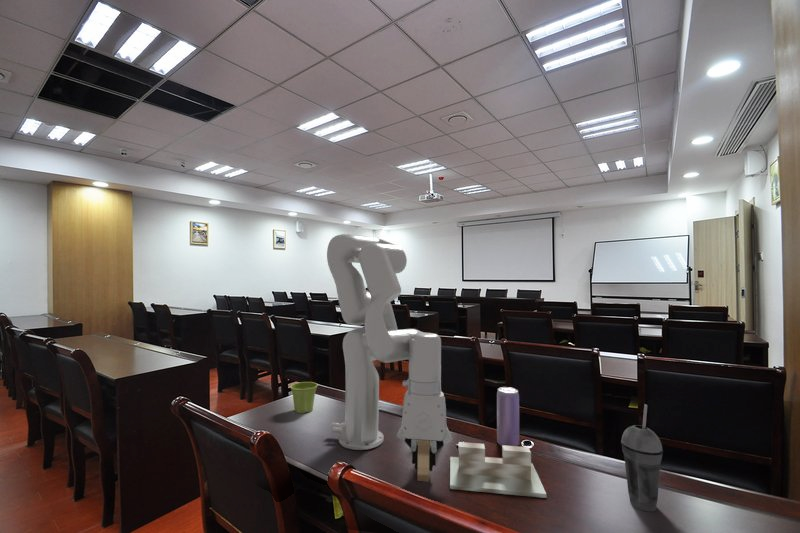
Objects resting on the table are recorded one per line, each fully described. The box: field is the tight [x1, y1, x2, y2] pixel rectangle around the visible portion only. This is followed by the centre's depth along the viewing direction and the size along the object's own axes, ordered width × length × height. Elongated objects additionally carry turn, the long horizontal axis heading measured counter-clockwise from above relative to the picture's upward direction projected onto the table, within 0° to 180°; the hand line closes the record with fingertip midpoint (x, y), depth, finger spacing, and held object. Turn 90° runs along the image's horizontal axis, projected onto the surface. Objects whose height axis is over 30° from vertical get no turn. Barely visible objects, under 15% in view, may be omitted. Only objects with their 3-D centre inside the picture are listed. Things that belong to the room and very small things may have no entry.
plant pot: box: [289, 381, 319, 414], centre depth 124 cm, size 9×9×9 cm
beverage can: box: [496, 386, 520, 447], centre depth 100 cm, size 6×6×15 cm
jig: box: [449, 441, 548, 499], centre depth 82 cm, size 20×13×7 cm, turn 82°
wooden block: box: [416, 440, 431, 483], centre depth 86 cm, size 12×3×9 cm, turn 172°
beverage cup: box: [620, 403, 664, 512], centre depth 73 cm, size 7×7×20 cm
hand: (424, 466), depth 82 cm, fingers closed on wooden block, 2 cm apart
